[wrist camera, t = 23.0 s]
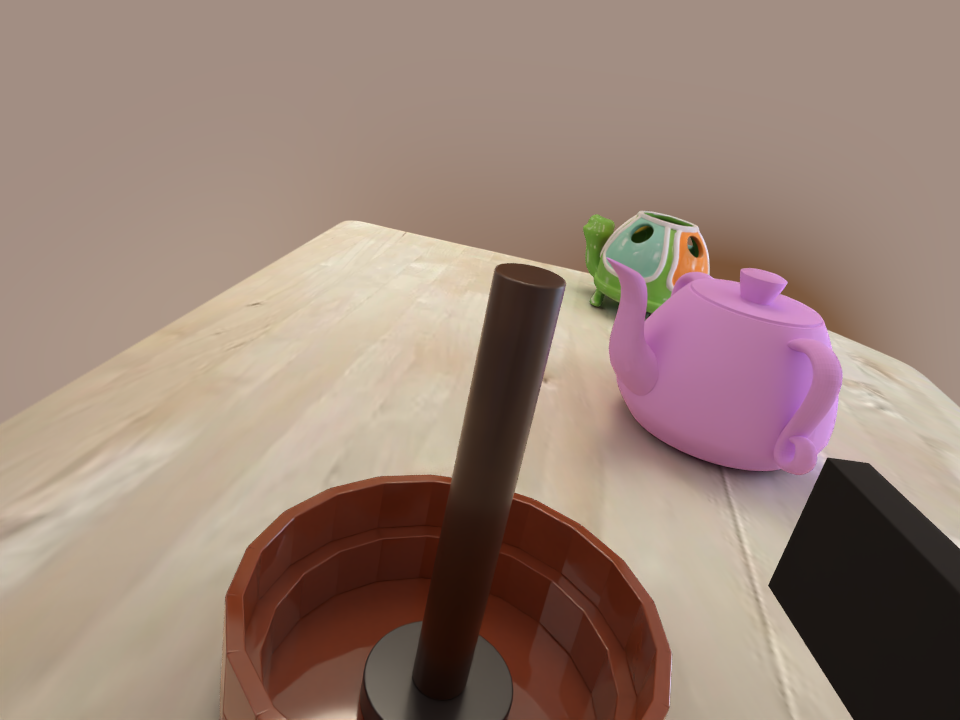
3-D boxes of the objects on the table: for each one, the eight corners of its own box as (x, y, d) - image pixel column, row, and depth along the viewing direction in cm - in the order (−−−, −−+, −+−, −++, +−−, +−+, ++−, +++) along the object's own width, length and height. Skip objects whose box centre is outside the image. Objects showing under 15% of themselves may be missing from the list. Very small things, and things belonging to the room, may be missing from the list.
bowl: (219, 1022, 18) (229, 886, 16) (218, 588, 32) (223, 480, 30) (710, 873, 24) (769, 758, 22) (532, 561, 38) (557, 470, 36)
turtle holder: (606, 279, 97) (629, 195, 92) (713, 330, 84) (746, 235, 79) (542, 283, 89) (564, 191, 84) (650, 339, 77) (682, 235, 72)
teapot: (522, 363, 63) (556, 215, 58) (722, 377, 70) (769, 245, 64) (624, 511, 44) (689, 311, 39) (886, 511, 51) (973, 339, 45)
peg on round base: (376, 783, 24) (468, 304, 17) (348, 649, 29) (410, 236, 22) (530, 753, 26) (668, 317, 19) (480, 632, 31) (574, 253, 24)
